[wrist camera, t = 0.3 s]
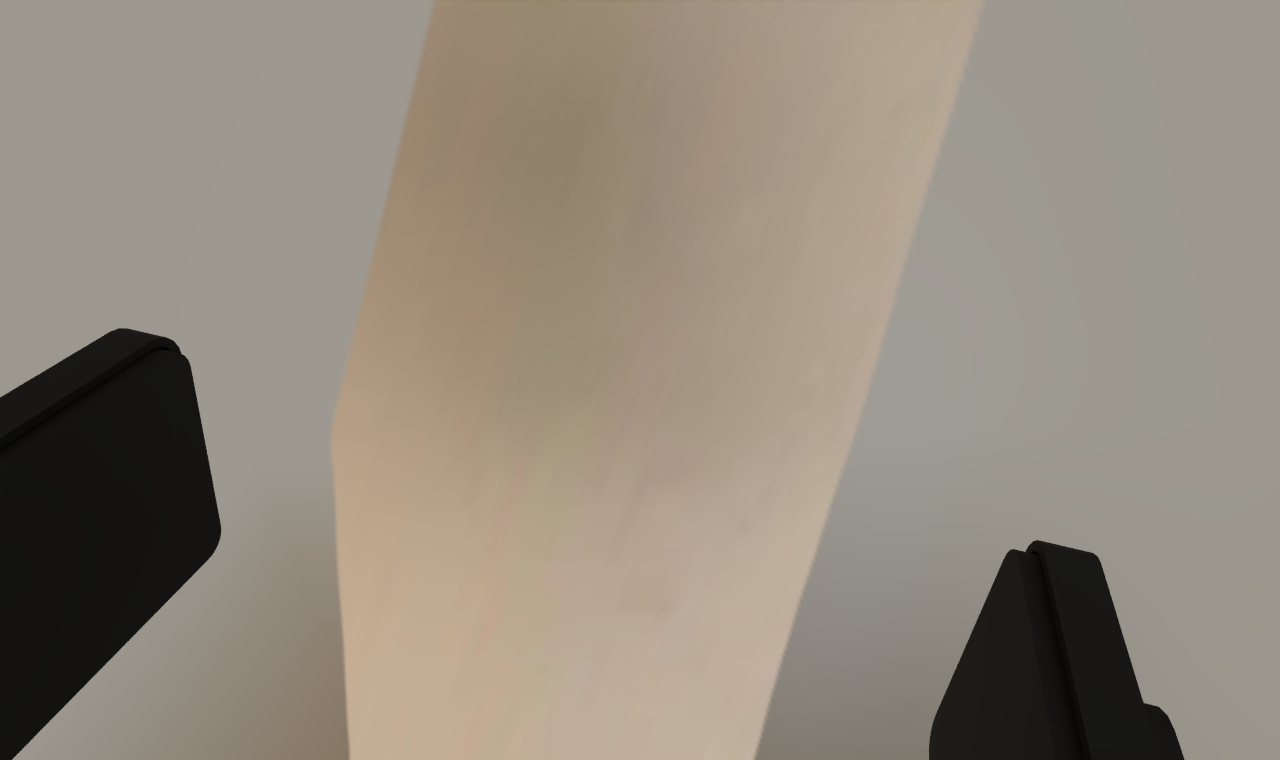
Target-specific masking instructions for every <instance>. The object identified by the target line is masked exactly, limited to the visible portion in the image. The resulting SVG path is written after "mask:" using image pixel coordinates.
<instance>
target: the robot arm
mask: <svg viewBox="0 0 1280 760" xmlns="http://www.w3.org/2000/svg"><path fill="white" fill-rule="evenodd" d="M220 536H221V524H220V519H219V514H218V508H217V503H216V497H215V492H214V487H213V482H212V476H211V471H210V466H209V461H208V455H207V450H206V445H205V439H204V435H203V429H202V424H201V418H200V413H199V408H198V403H197V397H196V392H195V387H194V382H193V376H192V371H191V367H190V363H189V361H188V359H187V358H186V357H185V356H184V355H182V354H181V352H180V349H179V347H178V346H177V345H176V343H175V342H174V341H173V340H171V339H168V338H166V337H161V336H157V335H153V334H149V333H144V332H140V331H135V330H131V329H125V328H124V329H123V328H122V329H120V328H119V329H116V330H114V331H111V332H109V333H107V334H106V335H104V336H102V337H101V338H99V339H97V340H96V341H94V342H92V343H91V344H89V345H87V346H86V347H84V348H82V349H81V350H79V351H77V352H76V353H74V354H72V355H71V356H69V357H67V358H66V359H64V360H62V361H61V362H59V363H57V364H56V365H54V366H52V367H51V368H49V369H47V370H45V371H44V372H42V373H41V374H39V375H37V376H35V377H34V378H32V379H30V380H29V381H27V382H25V383H24V384H22V385H20V386H19V387H17V388H15V389H14V390H12V391H10V392H9V393H7V394H5V395H4V396H2V397H0V760H12V759H13V758H14V757H15V756H16V755H17V754H18V753H19V752H20V751H21V750H22V749H23V748H24V747H25V746H26V745H27V744H28V743H29V742H30V741H31V739H33V738H34V736H35V735H36V734H37V733H38V732H39V731H40V730H41V729H42V728H43V727H44V726H45V725H46V724H47V723H48V722H49V721H50V720H51V719H52V718H53V717H54V716H55V715H56V714H57V713H58V712H59V711H60V710H61V709H62V708H63V707H64V706H65V705H66V704H67V703H68V702H69V701H70V700H71V699H72V698H73V697H74V696H75V695H76V694H77V693H78V692H79V691H80V690H81V689H82V688H83V687H84V686H85V684H87V682H88V681H89V680H90V679H91V678H92V677H93V676H94V675H95V674H96V673H97V672H98V671H99V670H100V669H101V668H102V667H103V666H104V665H105V664H106V663H107V662H108V661H109V660H110V659H111V658H112V657H113V656H114V655H115V654H116V653H117V652H118V651H119V650H120V649H121V648H122V647H123V646H124V645H125V644H126V643H127V642H128V641H129V640H130V639H131V638H132V637H133V636H134V635H135V634H136V633H137V631H138V630H139V629H141V627H142V626H143V625H144V624H145V623H146V622H147V621H148V620H149V619H150V618H151V617H152V616H153V615H154V614H155V613H156V612H157V611H158V610H159V609H160V608H161V607H162V606H163V605H164V604H165V603H166V602H167V601H168V600H169V599H170V598H171V597H172V596H173V595H174V594H175V593H176V592H177V591H178V590H179V589H180V588H181V587H182V586H183V584H185V583H186V582H187V581H188V580H189V579H190V578H191V577H192V576H193V575H194V573H196V571H197V570H198V569H199V568H200V567H201V566H202V565H203V564H204V563H205V562H206V561H207V560H208V559H209V558H210V557H211V556H212V554H213V553H214V551H215V549H216V548H217V546H218V543H219V540H220ZM929 760H1184V757H1183V754H1182V751H1181V748H1180V745H1179V742H1178V739H1177V736H1176V733H1175V730H1174V728H1173V726H1172V724H1171V722H1170V720H1169V718H1168V716H1167V715H1166V714H1165V713H1164V712H1163V711H1162V710H1161V709H1160V708H1159V707H1157V706H1153V705H1149V704H1145V703H1143V700H1142V697H1141V693H1140V690H1139V687H1138V683H1137V680H1136V677H1135V674H1134V670H1133V667H1132V664H1131V661H1130V657H1129V654H1128V651H1127V647H1126V644H1125V641H1124V637H1123V634H1122V631H1121V628H1120V624H1119V621H1118V618H1117V615H1116V611H1115V608H1114V605H1113V601H1112V598H1111V595H1110V591H1109V588H1108V585H1107V581H1106V578H1105V575H1104V572H1103V568H1102V565H1101V562H1100V561H1099V558H1098V556H1096V555H1095V554H1094V553H1090V552H1086V551H1082V550H1078V549H1073V548H1069V547H1065V546H1060V545H1056V544H1052V543H1047V542H1043V541H1038V540H1037V541H1033V542H1032V543H1031V544H1030V545H1029V546H1028V548H1027V550H1026V552H1023V551H1018V550H1015V549H1012V550H1010V551H1009V552H1008V553H1007V554H1006V556H1005V558H1004V560H1003V562H1002V565H1001V567H1000V569H999V571H998V574H997V576H996V578H995V581H994V583H993V585H992V587H991V590H990V592H989V594H988V597H987V599H986V601H985V603H984V606H983V608H982V610H981V613H980V615H979V617H978V619H977V622H976V624H975V626H974V629H973V631H972V634H971V636H970V638H969V640H968V643H967V645H966V647H965V649H964V652H963V654H962V656H961V658H960V661H959V663H958V665H957V668H956V670H955V672H954V674H953V677H952V679H951V681H950V684H949V686H948V688H947V690H946V693H945V695H944V697H943V700H942V702H941V704H940V706H939V709H938V711H937V713H936V716H935V719H934V721H933V725H932V730H931V736H930V745H929Z"/></svg>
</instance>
